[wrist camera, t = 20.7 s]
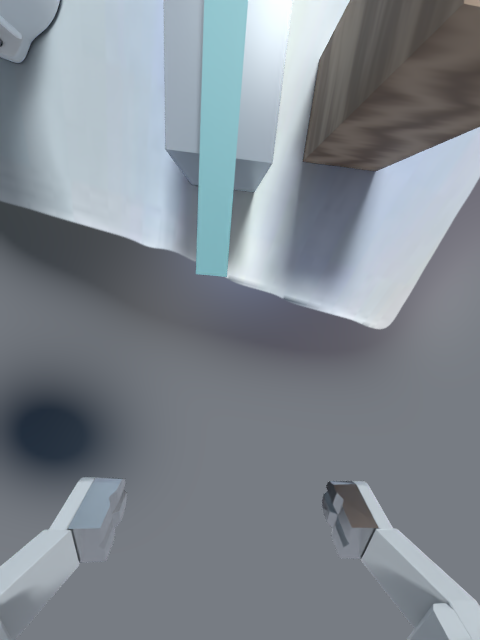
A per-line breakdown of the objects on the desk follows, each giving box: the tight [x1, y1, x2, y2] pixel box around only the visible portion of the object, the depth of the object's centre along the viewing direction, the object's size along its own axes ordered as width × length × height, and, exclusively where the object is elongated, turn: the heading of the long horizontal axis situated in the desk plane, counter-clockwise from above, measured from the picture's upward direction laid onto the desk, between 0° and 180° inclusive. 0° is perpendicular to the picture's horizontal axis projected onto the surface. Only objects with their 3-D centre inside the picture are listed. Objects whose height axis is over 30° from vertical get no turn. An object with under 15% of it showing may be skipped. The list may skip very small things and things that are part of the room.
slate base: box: [164, 0, 293, 192], centre depth 27 cm, size 10×12×16 cm
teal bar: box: [196, 0, 248, 277], centre depth 19 cm, size 3×26×3 cm, turn 174°
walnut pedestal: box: [303, 0, 480, 171], centre depth 22 cm, size 12×12×26 cm
